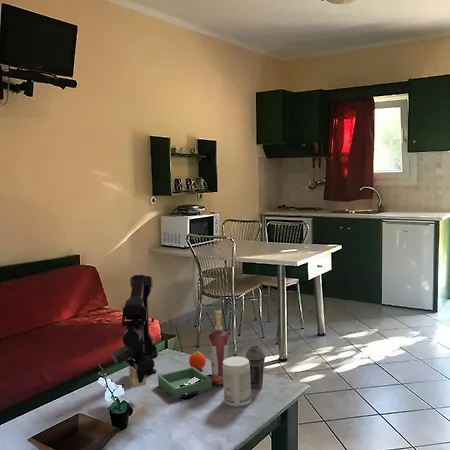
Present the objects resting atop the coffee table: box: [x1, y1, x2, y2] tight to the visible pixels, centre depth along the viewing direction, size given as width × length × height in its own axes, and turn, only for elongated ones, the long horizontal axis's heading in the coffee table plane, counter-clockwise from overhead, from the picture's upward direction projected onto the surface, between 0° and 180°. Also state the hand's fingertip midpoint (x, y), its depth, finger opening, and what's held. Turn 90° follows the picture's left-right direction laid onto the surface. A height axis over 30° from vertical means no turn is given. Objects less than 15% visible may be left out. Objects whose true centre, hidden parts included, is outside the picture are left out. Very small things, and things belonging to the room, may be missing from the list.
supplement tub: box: [222, 356, 252, 408], centre depth 180 cm, size 10×10×15 cm
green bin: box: [157, 366, 213, 401], centre depth 193 cm, size 15×15×4 cm
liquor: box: [208, 310, 229, 386], centre depth 195 cm, size 7×7×28 cm
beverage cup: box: [245, 335, 266, 391], centre depth 190 cm, size 7×7×20 cm
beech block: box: [128, 366, 147, 389], centre depth 184 cm, size 4×4×6 cm
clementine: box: [188, 351, 207, 371], centre depth 211 cm, size 8×7×7 cm
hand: (137, 380), depth 184 cm, fingers closed on beech block, 4 cm apart
